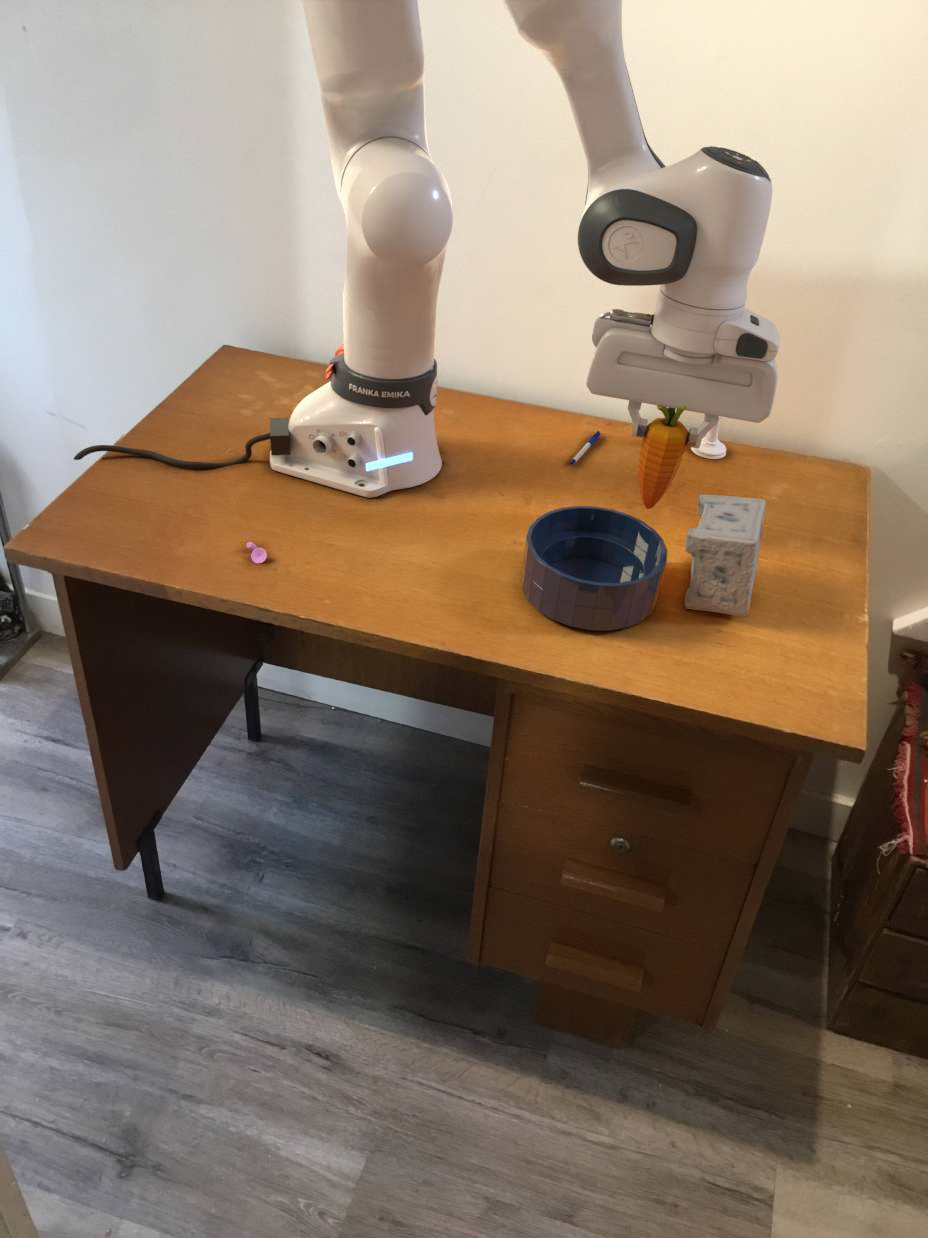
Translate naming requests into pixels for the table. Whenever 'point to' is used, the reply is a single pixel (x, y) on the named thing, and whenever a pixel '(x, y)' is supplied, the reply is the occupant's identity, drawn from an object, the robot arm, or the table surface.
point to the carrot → (661, 454)
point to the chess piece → (711, 444)
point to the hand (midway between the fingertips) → (665, 440)
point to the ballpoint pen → (585, 447)
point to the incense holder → (724, 553)
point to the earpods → (257, 553)
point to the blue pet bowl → (593, 567)
